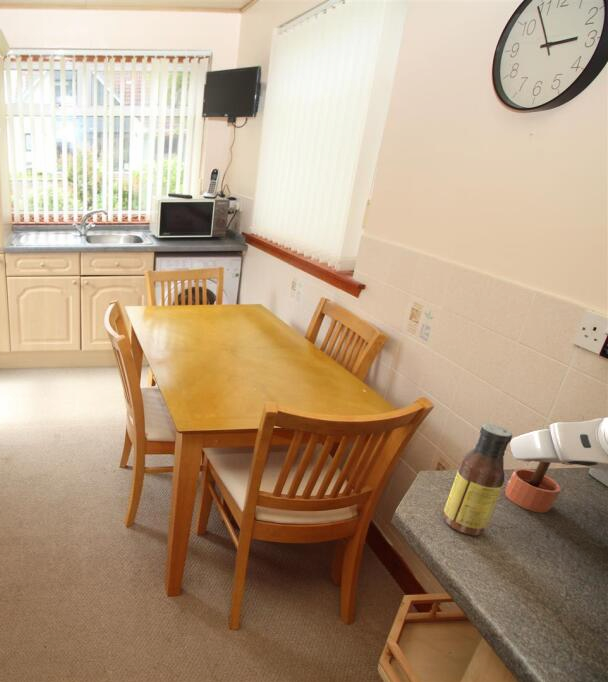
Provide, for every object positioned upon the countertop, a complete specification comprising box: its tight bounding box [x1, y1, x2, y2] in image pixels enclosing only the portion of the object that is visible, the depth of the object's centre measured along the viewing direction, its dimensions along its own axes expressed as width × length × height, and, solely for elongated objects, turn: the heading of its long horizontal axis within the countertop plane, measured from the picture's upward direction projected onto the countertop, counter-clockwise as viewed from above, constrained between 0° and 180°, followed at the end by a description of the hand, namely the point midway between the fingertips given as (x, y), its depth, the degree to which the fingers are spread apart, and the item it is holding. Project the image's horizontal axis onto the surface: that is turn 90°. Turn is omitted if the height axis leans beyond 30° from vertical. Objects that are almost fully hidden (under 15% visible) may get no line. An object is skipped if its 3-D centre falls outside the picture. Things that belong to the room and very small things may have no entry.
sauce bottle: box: [443, 423, 513, 537], centre depth 82 cm, size 6×6×20 cm
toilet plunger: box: [529, 462, 551, 488], centre depth 90 cm, size 4×4×16 cm
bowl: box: [504, 468, 562, 514], centre depth 92 cm, size 7×7×5 cm
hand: (543, 458), depth 90 cm, fingers open, 6 cm apart
